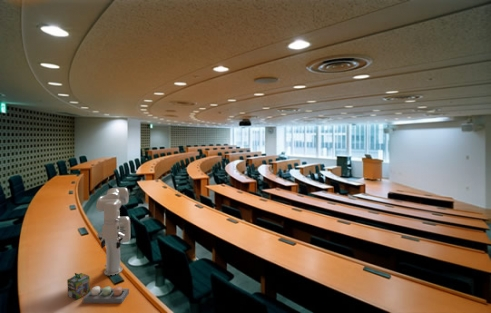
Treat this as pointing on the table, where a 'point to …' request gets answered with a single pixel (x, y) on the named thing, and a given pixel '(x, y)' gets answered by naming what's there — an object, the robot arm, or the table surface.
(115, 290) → the pink rounded dome
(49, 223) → the table surface
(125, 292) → the button board
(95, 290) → the white rounded piece
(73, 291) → the chalk box
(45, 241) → the table surface
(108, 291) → the pale green rounded piece
